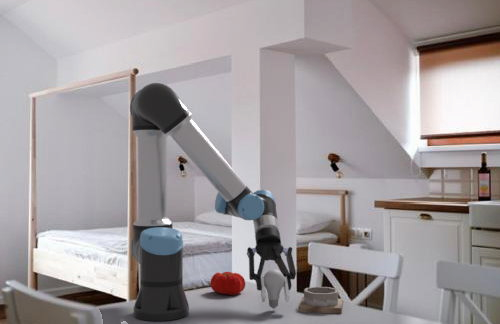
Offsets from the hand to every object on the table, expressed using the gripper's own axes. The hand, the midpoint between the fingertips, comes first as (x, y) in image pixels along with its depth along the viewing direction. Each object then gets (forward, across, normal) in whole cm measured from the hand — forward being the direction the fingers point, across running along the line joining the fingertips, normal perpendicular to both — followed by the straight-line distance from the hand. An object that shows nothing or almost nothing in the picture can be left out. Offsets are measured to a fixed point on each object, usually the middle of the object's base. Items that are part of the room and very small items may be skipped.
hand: (275, 299), depth 169 cm
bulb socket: (-1, -14, -6) cm, 16 cm away
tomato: (-17, +11, -23) cm, 30 cm away
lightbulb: (0, 0, -5) cm, 5 cm away
